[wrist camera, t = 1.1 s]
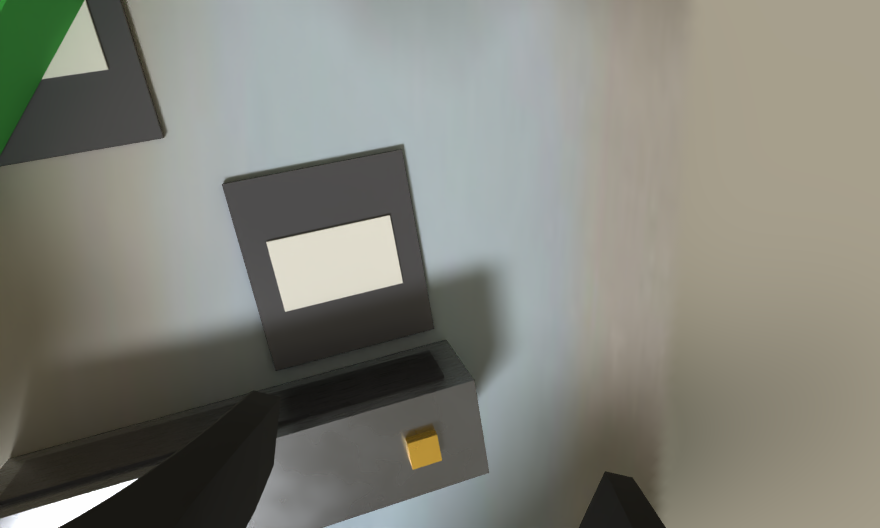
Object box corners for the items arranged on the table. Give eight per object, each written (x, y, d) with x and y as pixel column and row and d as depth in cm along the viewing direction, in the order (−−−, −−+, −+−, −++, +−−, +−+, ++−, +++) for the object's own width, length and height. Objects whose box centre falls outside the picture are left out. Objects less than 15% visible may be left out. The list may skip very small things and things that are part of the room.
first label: (276, 368, 23) (275, 371, 23) (222, 183, 21) (221, 184, 20) (432, 327, 25) (434, 329, 24) (400, 149, 22) (402, 149, 22)
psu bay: (51, 546, 23) (0, 642, 19) (6, 455, 21) (-60, 538, 17) (460, 421, 26) (492, 478, 22) (445, 336, 25) (477, 381, 21)
